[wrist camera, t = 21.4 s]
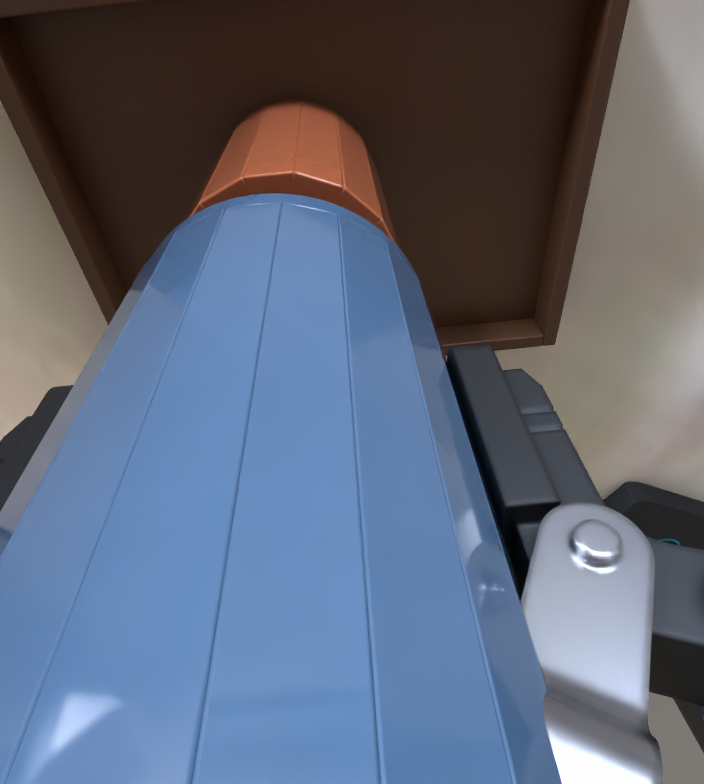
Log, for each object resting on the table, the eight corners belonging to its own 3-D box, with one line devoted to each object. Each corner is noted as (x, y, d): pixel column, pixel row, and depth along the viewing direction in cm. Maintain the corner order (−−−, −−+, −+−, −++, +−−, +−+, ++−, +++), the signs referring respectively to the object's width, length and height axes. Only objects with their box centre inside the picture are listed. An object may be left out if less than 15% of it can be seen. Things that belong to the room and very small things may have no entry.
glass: (188, 446, 14) (58, 929, 7) (85, 211, 9) (-529, 858, 3) (426, 423, 14) (535, 892, 7) (430, 174, 9) (732, 754, 2)
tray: (149, 359, 25) (137, 387, 23) (-13, -8, 15) (-51, -5, 14) (540, 320, 24) (555, 345, 23) (614, -80, 15) (649, -85, 13)
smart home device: (643, 499, 31) (840, 557, 37) (630, 477, 33) (822, 536, 39) (557, 566, 36) (744, 608, 42) (549, 545, 37) (732, 588, 44)
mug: (200, 108, 17) (136, 187, 11) (371, 89, 17) (400, 159, 11) (252, 315, 23) (228, 444, 17) (382, 302, 23) (406, 427, 16)
